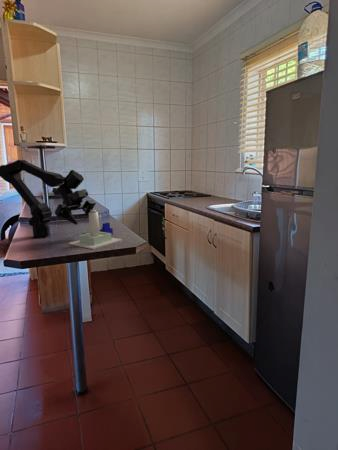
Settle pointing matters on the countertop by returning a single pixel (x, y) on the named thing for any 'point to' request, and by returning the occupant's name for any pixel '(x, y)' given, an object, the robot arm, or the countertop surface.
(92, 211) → the connector plug
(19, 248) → the countertop surface
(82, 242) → the end holder
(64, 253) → the countertop surface
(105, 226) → the cable clip
